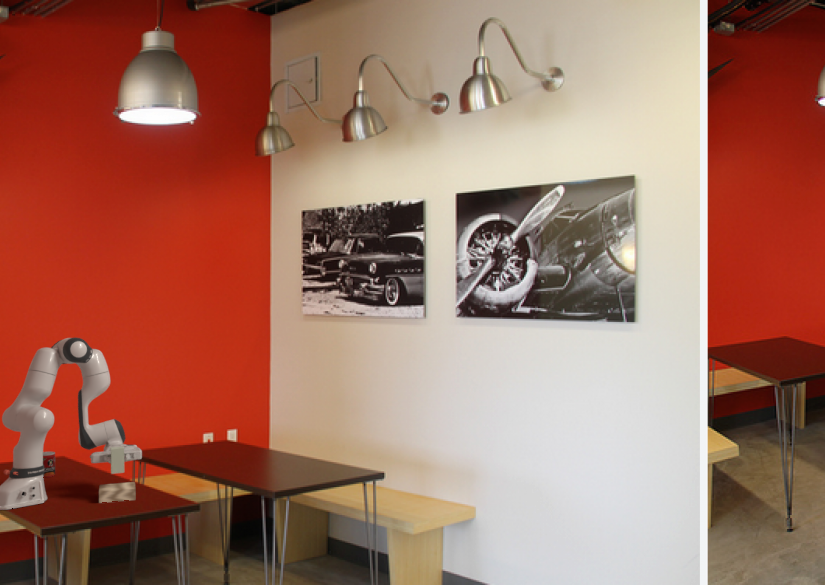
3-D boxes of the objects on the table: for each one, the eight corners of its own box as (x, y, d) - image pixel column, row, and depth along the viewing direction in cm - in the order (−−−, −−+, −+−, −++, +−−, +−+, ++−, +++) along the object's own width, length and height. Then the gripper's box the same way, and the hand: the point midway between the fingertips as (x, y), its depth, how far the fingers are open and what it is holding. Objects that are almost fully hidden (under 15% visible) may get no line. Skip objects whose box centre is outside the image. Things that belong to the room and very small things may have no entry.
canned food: (42, 478, 373) (42, 454, 373) (34, 476, 378) (34, 453, 378) (58, 475, 379) (58, 452, 379) (49, 473, 384) (49, 450, 384)
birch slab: (99, 504, 322) (98, 491, 322) (99, 496, 335) (99, 484, 336) (135, 500, 327) (135, 488, 327) (134, 493, 340) (134, 481, 340)
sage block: (111, 473, 328) (111, 449, 329) (110, 471, 333) (110, 447, 333) (124, 472, 330) (124, 448, 331) (123, 470, 335) (123, 446, 335)
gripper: (89, 448, 340) (90, 453, 327) (140, 444, 348) (143, 449, 335) (89, 463, 339) (90, 469, 327) (140, 458, 348) (143, 464, 335)
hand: (117, 459), depth 331 cm, fingers closed on sage block, 5 cm apart
